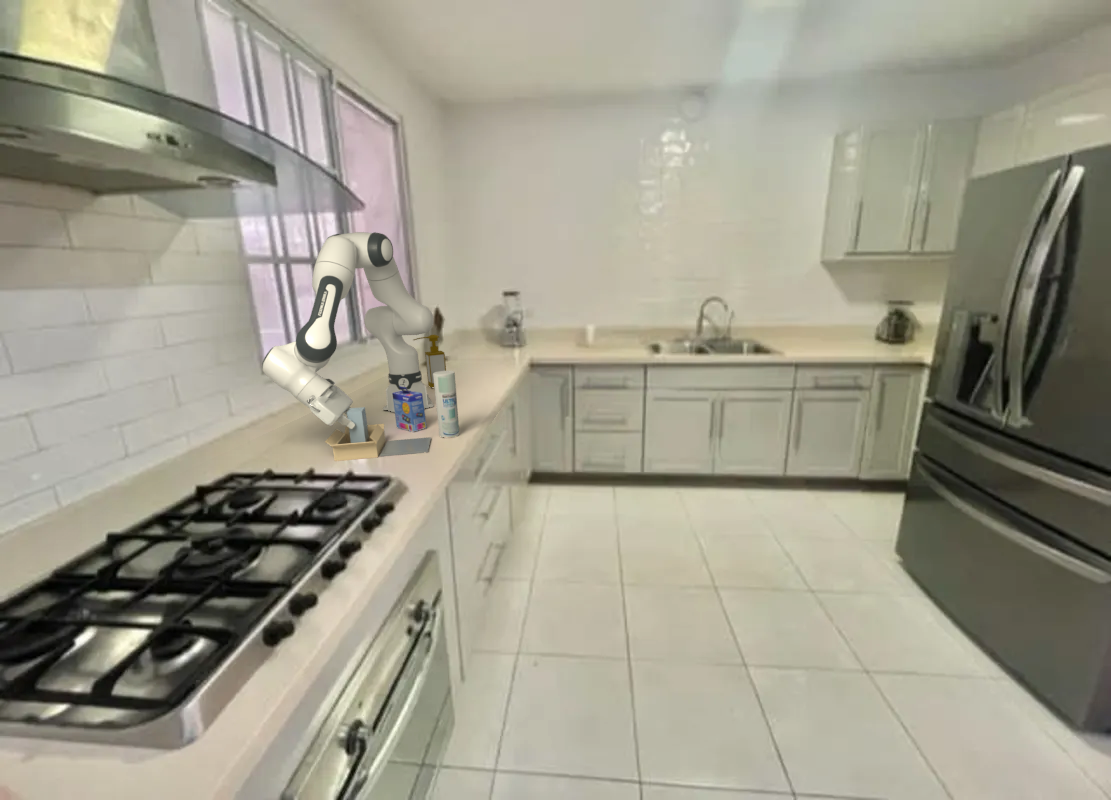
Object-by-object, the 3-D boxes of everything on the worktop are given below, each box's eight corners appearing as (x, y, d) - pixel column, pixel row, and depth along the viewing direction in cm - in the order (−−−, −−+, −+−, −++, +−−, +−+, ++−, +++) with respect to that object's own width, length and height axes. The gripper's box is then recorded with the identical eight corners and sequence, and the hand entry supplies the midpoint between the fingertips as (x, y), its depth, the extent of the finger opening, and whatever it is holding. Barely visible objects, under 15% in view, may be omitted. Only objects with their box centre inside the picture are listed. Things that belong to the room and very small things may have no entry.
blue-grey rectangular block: (355, 447, 160) (350, 408, 157) (369, 446, 160) (364, 407, 157) (352, 452, 155) (346, 412, 152) (366, 451, 155) (361, 411, 153)
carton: (340, 444, 165) (338, 425, 164) (386, 440, 167) (384, 421, 166) (325, 464, 147) (321, 443, 146) (376, 459, 149) (374, 439, 148)
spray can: (444, 439, 165) (438, 375, 161) (435, 435, 170) (429, 372, 166) (463, 435, 169) (458, 372, 164) (454, 431, 174) (449, 369, 169)
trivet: (387, 442, 165) (387, 440, 164) (431, 439, 166) (430, 437, 166) (380, 456, 152) (380, 454, 152) (427, 452, 154) (427, 450, 154)
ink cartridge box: (395, 428, 180) (390, 385, 177) (409, 424, 185) (404, 382, 181) (413, 432, 174) (408, 388, 171) (427, 428, 178) (422, 385, 175)
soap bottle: (416, 387, 247) (410, 335, 241) (443, 383, 252) (439, 333, 246) (419, 390, 240) (414, 337, 235) (447, 386, 245) (442, 334, 240)
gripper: (312, 392, 142) (356, 425, 145) (332, 377, 162) (369, 407, 165) (297, 410, 142) (341, 442, 146) (318, 393, 162) (356, 422, 166)
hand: (356, 423), depth 156 cm, fingers closed on blue-grey rectangular block, 5 cm apart
